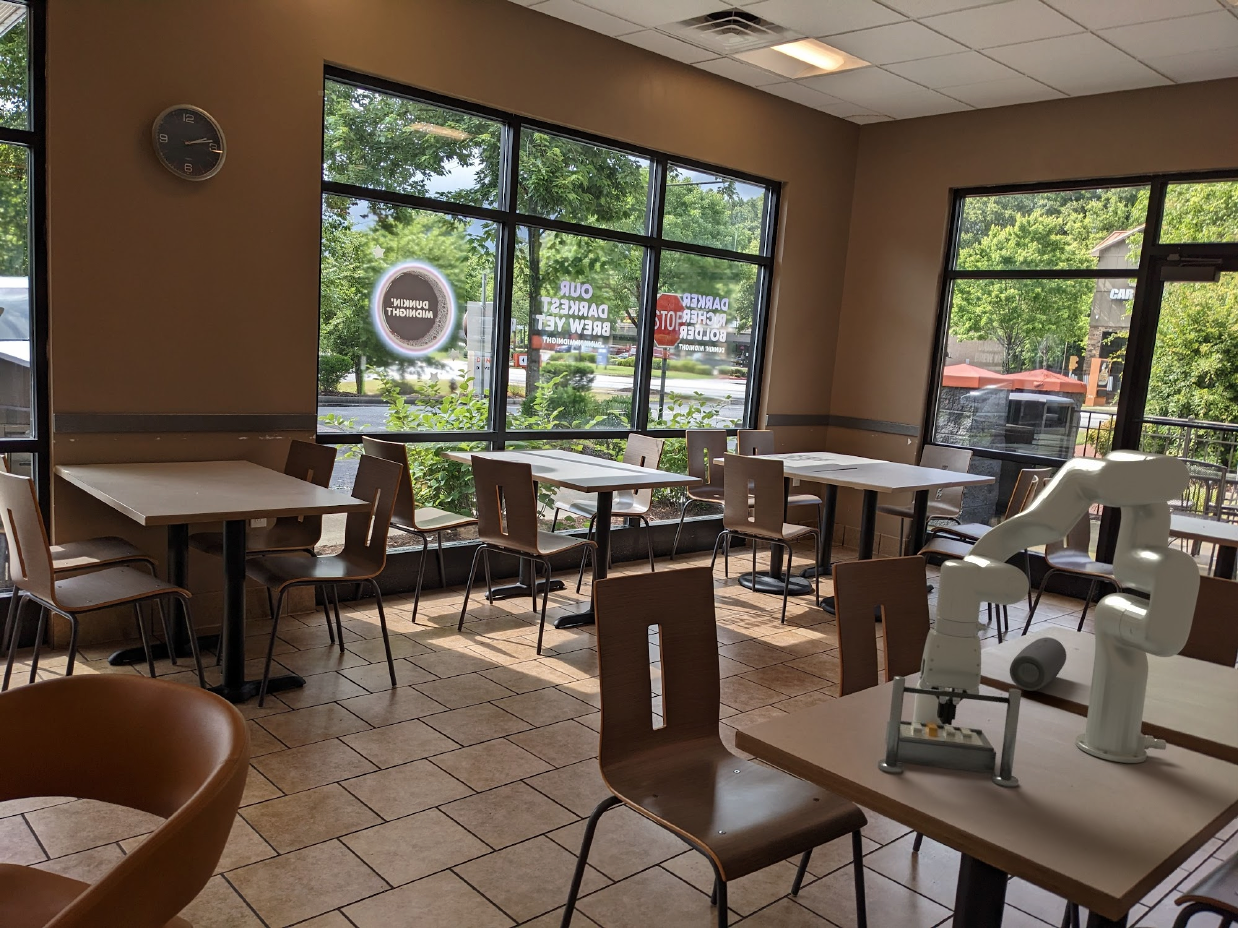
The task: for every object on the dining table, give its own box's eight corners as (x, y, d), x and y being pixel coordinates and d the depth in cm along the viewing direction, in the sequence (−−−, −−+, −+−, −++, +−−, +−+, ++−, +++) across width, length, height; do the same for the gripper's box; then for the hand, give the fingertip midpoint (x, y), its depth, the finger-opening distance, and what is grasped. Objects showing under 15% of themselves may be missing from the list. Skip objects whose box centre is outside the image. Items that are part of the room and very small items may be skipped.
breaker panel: (980, 752, 184) (983, 723, 183) (993, 773, 174) (997, 742, 173) (885, 741, 186) (888, 712, 185) (893, 761, 176) (896, 731, 176)
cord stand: (1014, 778, 172) (1024, 687, 170) (1021, 788, 168) (1031, 695, 166) (876, 762, 175) (885, 672, 174) (879, 771, 171) (888, 680, 169)
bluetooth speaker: (1026, 669, 242) (1031, 631, 241) (1066, 678, 237) (1071, 639, 236) (1004, 690, 224) (1008, 648, 223) (1046, 700, 218) (1051, 658, 217)
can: (947, 746, 186) (953, 686, 184) (913, 741, 187) (919, 682, 186) (943, 734, 192) (949, 676, 191) (909, 730, 193) (915, 672, 192)
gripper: (992, 626, 180) (981, 719, 181) (911, 617, 181) (901, 710, 183) (1003, 636, 172) (991, 734, 174) (918, 627, 174) (907, 724, 176)
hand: (945, 722), depth 179 cm, fingers closed
